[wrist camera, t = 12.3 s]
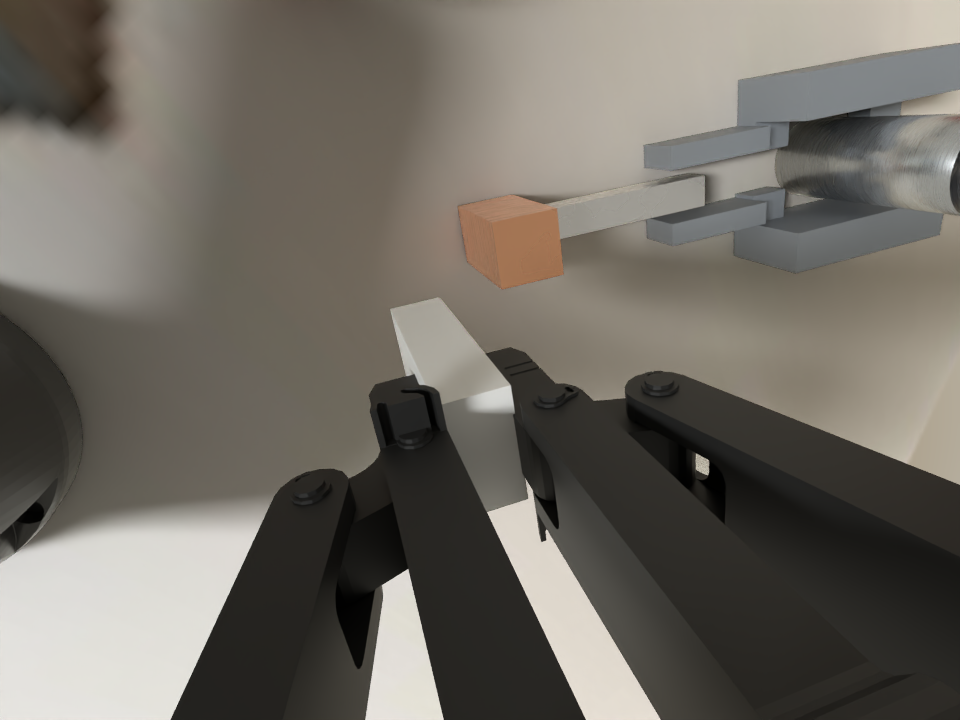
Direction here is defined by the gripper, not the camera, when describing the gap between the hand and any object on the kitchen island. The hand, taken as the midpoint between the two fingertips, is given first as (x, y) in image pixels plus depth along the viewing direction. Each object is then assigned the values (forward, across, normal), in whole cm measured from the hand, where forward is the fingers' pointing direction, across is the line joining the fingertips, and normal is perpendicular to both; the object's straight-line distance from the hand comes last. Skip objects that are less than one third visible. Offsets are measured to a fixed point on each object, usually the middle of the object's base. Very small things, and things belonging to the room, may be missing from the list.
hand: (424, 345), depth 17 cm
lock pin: (+14, +11, 0) cm, 18 cm away
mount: (+14, +24, 0) cm, 28 cm away
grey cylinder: (+14, +27, 0) cm, 30 cm away
